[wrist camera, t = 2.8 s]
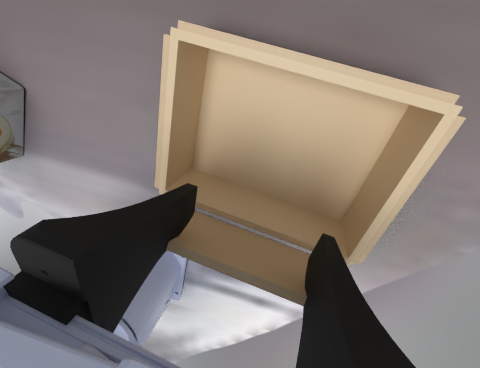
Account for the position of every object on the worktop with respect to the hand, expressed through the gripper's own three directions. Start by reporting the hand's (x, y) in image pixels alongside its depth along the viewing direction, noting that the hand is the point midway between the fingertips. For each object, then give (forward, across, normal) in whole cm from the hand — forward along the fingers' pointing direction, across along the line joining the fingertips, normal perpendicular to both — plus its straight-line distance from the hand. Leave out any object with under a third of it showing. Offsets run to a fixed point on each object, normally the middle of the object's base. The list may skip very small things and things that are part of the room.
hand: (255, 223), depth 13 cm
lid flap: (0, 0, +2) cm, 2 cm away
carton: (+8, 0, -2) cm, 9 cm away
